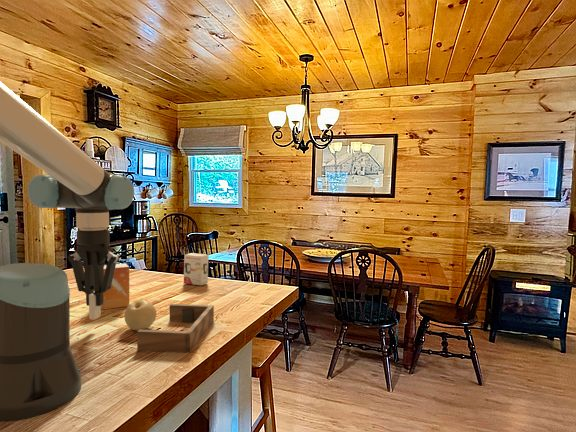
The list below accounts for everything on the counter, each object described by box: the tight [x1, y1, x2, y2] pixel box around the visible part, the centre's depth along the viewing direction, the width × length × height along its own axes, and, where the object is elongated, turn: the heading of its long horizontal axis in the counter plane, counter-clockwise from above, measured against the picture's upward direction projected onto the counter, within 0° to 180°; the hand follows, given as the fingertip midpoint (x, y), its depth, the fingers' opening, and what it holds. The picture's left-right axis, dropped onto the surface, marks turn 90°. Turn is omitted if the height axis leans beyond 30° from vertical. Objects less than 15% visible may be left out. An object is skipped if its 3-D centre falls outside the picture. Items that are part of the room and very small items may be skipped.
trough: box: [136, 303, 215, 353], centre depth 96 cm, size 21×12×4 cm, turn 177°
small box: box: [101, 262, 130, 311], centre depth 119 cm, size 8×6×13 cm
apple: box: [123, 299, 157, 332], centre depth 99 cm, size 8×8×8 cm
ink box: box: [183, 252, 209, 286], centre depth 149 cm, size 9×5×12 cm, turn 70°
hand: (95, 317), depth 98 cm, fingers closed
